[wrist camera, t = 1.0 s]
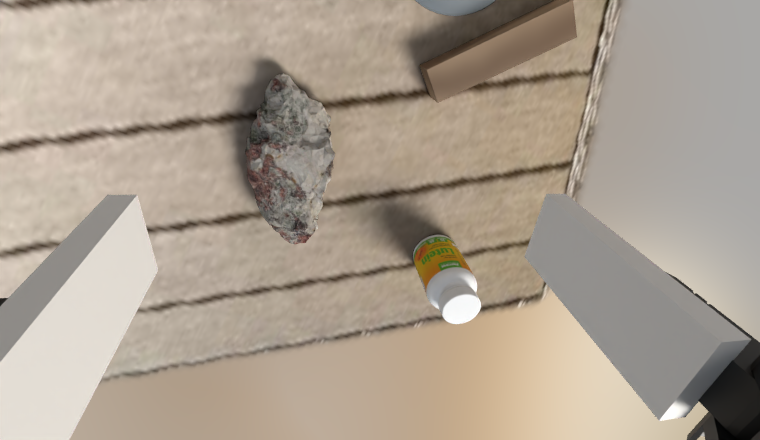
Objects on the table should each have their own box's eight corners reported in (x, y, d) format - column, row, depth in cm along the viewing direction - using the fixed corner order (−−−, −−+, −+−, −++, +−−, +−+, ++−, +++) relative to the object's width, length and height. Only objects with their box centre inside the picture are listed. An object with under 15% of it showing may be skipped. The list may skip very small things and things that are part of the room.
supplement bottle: (446, 225, 43) (478, 279, 35) (461, 257, 46) (494, 314, 38) (404, 246, 44) (426, 304, 36) (422, 276, 47) (446, 337, 38)
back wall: (419, 65, 34) (426, 70, 32) (555, -1, 33) (572, -1, 31) (430, 96, 35) (437, 102, 33) (560, 34, 34) (576, 37, 32)
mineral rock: (262, 66, 32) (255, 76, 28) (351, 95, 34) (356, 107, 31) (235, 212, 38) (227, 236, 35) (311, 228, 41) (311, 251, 37)
